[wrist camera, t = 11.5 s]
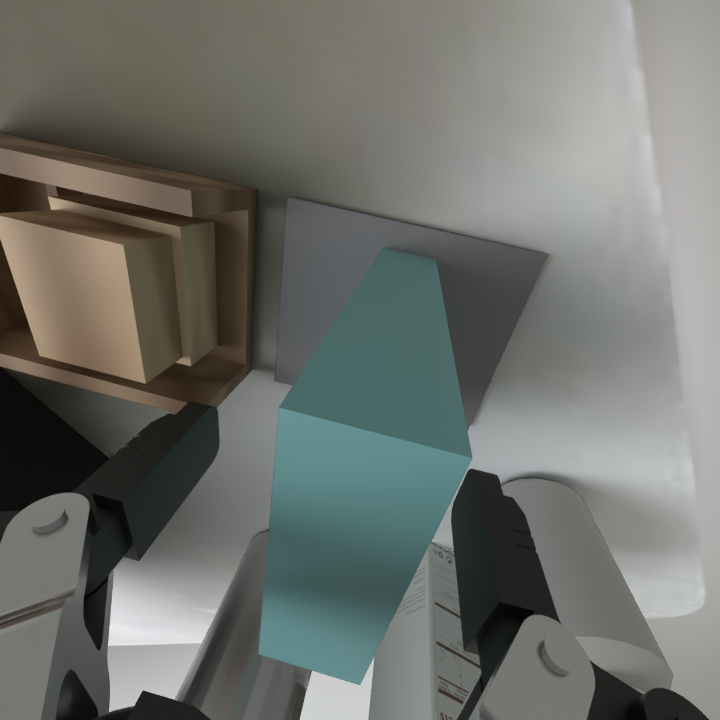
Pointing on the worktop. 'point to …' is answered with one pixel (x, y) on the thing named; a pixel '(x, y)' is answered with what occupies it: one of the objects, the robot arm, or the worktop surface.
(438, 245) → the charcoal mat
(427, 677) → the supplement box
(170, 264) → the upper offcut
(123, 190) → the walnut rack
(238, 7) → the worktop surface
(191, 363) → the lower offcut
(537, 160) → the worktop surface
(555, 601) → the can
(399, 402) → the teal board
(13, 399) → the coffee maker
